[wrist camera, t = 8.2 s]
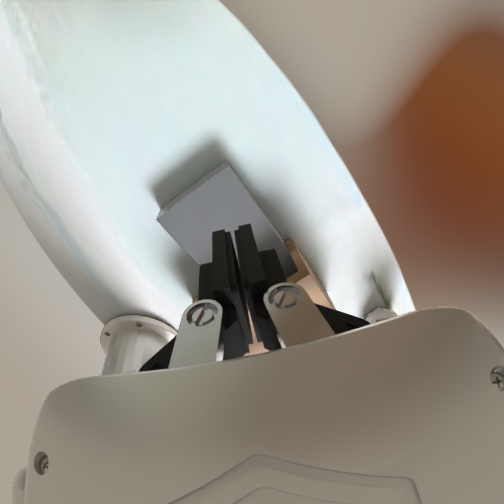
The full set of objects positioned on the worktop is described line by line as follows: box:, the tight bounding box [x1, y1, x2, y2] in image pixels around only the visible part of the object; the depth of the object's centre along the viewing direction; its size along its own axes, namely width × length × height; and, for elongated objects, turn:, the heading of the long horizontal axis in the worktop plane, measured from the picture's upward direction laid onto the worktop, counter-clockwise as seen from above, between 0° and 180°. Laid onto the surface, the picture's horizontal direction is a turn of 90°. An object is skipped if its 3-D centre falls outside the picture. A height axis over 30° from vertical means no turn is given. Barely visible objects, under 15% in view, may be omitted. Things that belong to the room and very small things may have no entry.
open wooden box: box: [193, 238, 336, 357], centre depth 31 cm, size 10×14×7 cm
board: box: [156, 161, 298, 302], centre depth 29 cm, size 16×8×3 cm, turn 33°
